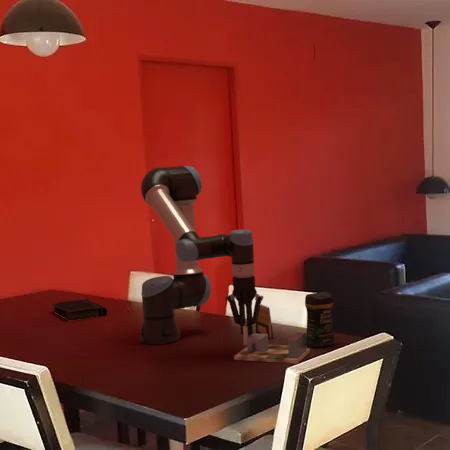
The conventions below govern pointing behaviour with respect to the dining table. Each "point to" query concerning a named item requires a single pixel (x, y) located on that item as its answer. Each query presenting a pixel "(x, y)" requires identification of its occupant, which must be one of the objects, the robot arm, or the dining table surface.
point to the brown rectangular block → (297, 345)
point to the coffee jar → (319, 319)
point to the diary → (79, 309)
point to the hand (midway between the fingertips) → (247, 344)
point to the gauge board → (270, 355)
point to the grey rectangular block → (257, 343)
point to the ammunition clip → (264, 322)
